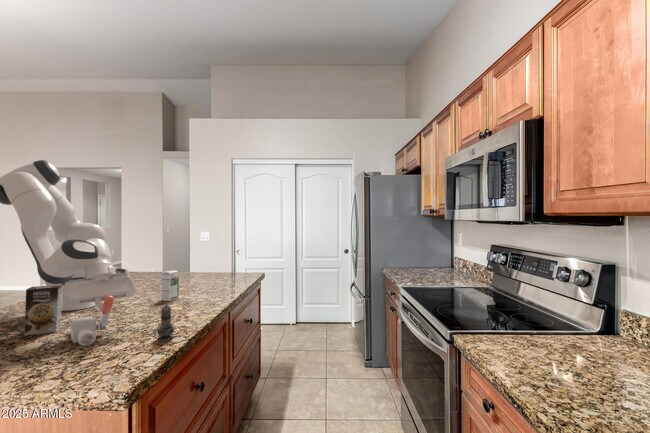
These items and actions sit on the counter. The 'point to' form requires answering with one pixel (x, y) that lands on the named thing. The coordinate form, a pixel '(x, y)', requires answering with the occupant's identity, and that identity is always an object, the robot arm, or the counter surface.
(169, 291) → the syrup box
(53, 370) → the counter surface
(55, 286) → the cookie box
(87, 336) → the valve
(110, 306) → the lever
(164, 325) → the grey chess pawn
